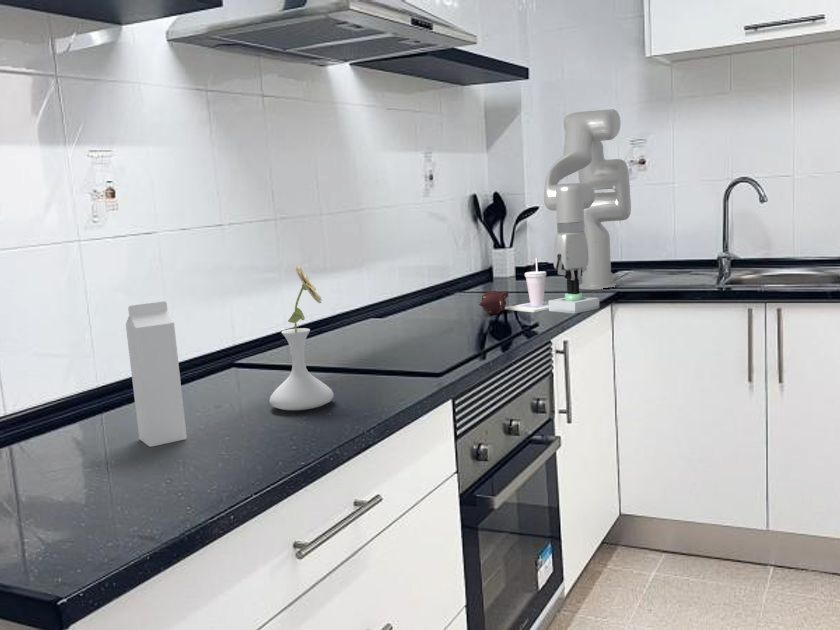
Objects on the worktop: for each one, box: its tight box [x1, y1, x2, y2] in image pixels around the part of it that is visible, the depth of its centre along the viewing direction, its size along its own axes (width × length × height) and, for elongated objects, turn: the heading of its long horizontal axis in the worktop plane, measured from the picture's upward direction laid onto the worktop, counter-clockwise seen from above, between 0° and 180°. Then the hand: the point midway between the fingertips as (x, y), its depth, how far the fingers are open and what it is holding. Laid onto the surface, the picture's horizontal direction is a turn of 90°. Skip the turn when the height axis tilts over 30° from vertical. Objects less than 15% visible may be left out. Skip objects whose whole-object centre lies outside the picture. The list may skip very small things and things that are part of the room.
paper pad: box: [504, 301, 549, 313], centre depth 250 cm, size 14×12×1 cm
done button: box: [564, 292, 583, 301], centre depth 240 cm, size 5×5×4 cm
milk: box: [125, 300, 188, 448], centre depth 134 cm, size 6×6×22 cm
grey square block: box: [548, 296, 600, 315], centre depth 241 cm, size 10×10×3 cm
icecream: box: [479, 290, 509, 315], centre depth 243 cm, size 7×7×15 cm
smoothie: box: [524, 257, 547, 306], centre depth 249 cm, size 6×6×14 cm
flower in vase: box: [269, 265, 335, 411], centre depth 149 cm, size 13×11×25 cm
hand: (573, 293), depth 240 cm, fingers closed
